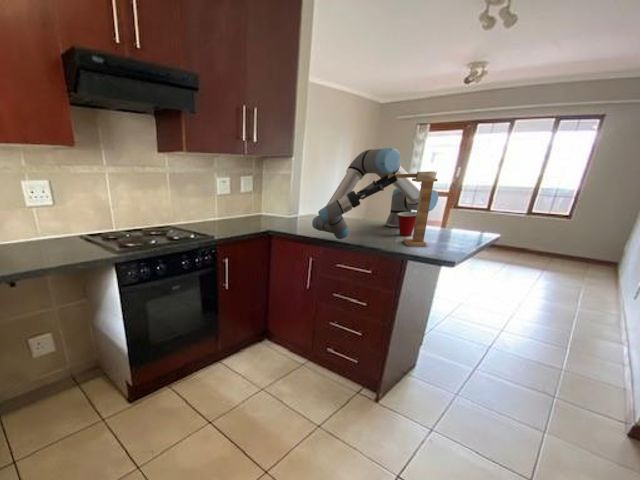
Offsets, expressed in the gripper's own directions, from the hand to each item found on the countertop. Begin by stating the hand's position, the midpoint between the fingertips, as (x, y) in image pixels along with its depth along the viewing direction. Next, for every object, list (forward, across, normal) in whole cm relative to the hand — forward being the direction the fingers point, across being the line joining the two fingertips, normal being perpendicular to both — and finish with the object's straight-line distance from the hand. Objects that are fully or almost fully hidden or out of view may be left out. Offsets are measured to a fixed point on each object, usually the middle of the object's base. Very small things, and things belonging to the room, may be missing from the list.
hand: (393, 177), depth 154 cm
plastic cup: (-3, +22, +34) cm, 41 cm away
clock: (+6, 0, +5) cm, 8 cm away
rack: (-4, 0, +34) cm, 34 cm away
